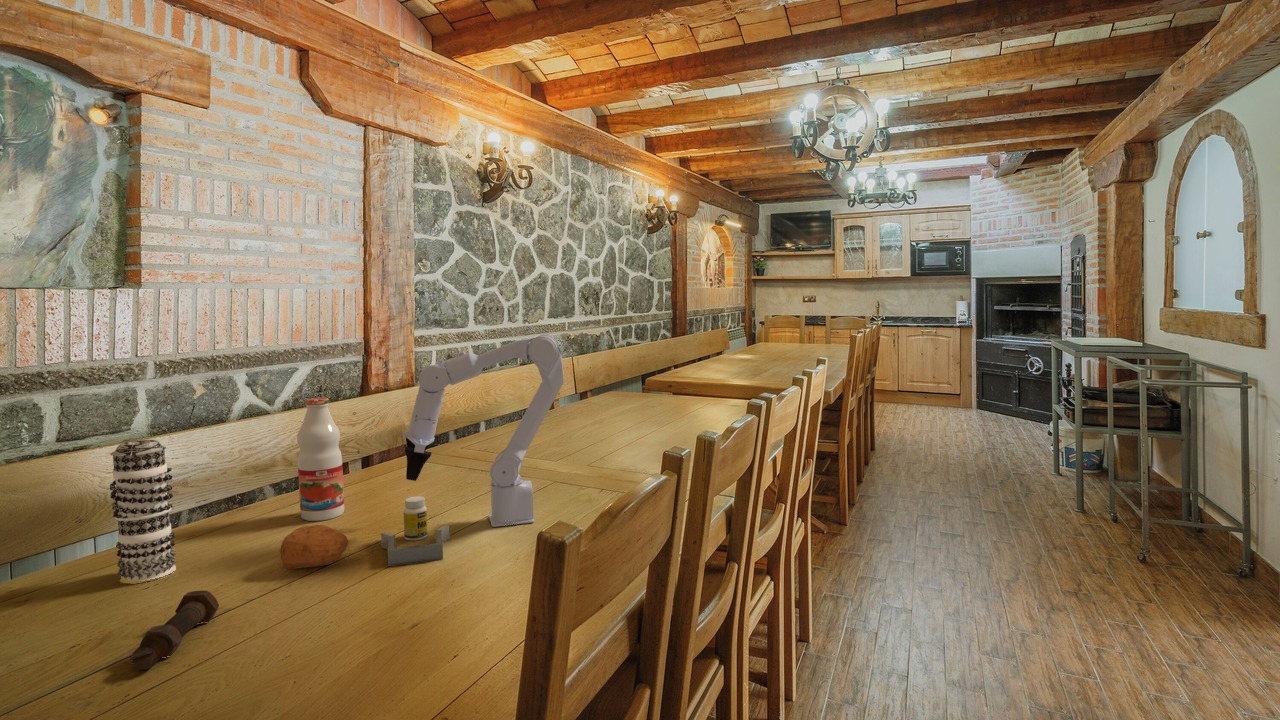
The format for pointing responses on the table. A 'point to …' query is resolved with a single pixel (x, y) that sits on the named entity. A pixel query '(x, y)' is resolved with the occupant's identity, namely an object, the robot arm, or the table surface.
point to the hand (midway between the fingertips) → (411, 474)
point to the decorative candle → (142, 510)
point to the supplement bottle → (415, 519)
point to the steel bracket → (414, 549)
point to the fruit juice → (320, 464)
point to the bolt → (174, 629)
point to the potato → (312, 547)
